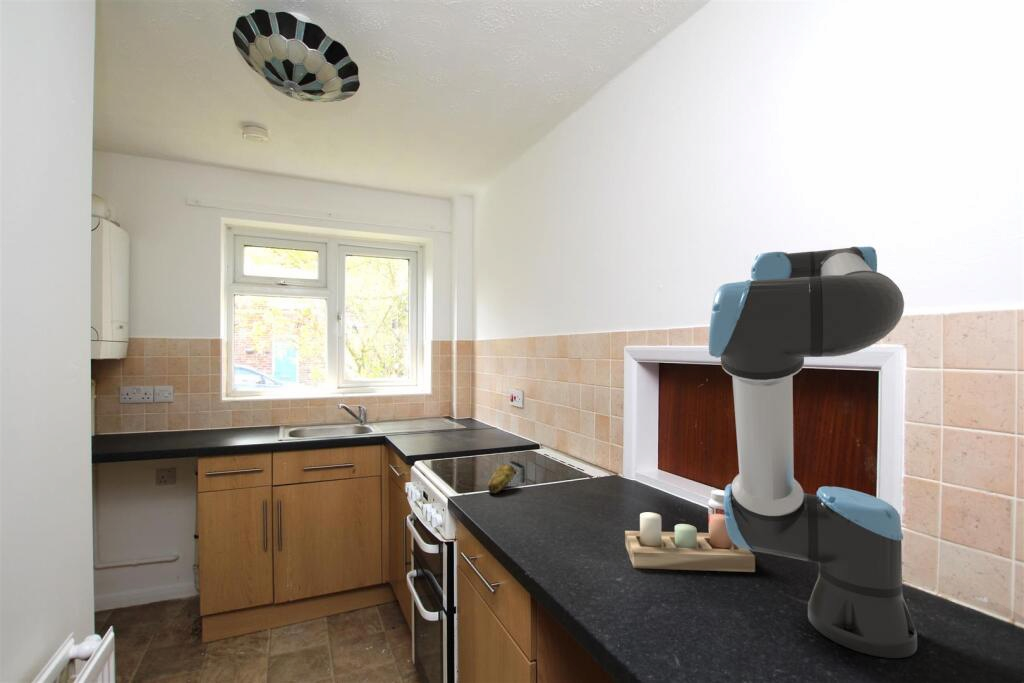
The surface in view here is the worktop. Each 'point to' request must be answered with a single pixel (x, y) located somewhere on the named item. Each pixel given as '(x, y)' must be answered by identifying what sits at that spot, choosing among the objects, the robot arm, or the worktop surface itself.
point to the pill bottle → (716, 503)
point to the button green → (685, 536)
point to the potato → (500, 478)
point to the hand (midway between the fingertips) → (773, 416)
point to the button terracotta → (719, 532)
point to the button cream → (650, 529)
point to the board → (687, 554)
